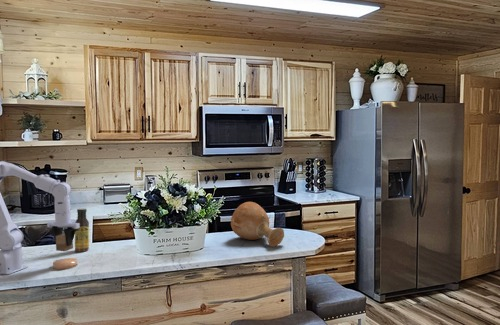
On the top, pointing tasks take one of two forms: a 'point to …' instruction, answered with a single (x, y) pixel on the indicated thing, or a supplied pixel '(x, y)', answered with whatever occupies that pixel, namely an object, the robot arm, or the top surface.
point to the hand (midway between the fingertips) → (64, 244)
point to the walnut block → (62, 243)
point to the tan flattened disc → (64, 263)
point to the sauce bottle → (82, 231)
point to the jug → (254, 224)
